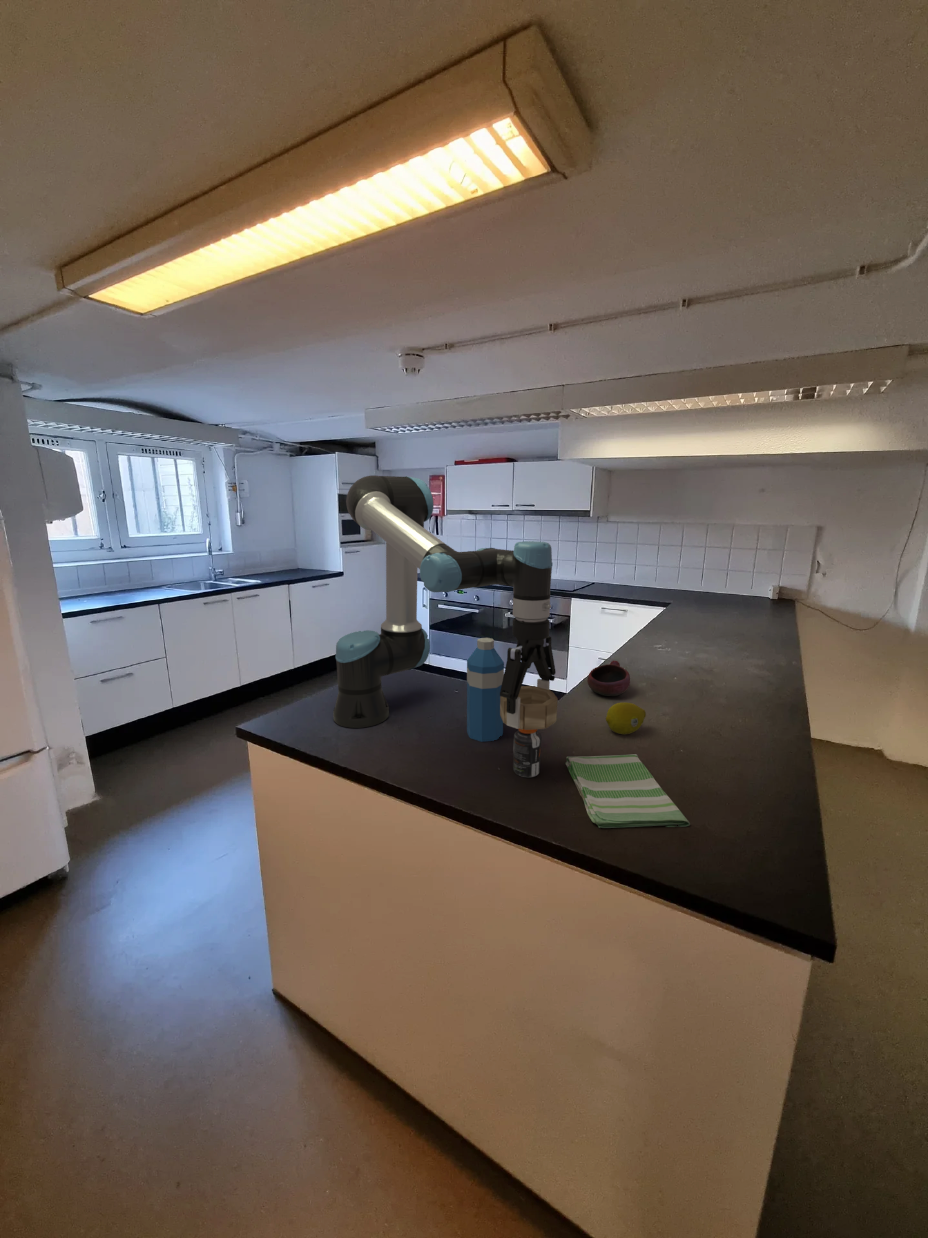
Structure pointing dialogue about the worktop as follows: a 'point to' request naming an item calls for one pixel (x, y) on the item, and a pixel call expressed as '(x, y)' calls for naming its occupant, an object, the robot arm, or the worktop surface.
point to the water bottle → (484, 692)
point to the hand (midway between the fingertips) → (528, 716)
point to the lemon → (625, 717)
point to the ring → (533, 708)
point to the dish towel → (622, 792)
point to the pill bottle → (527, 752)
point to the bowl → (609, 679)
